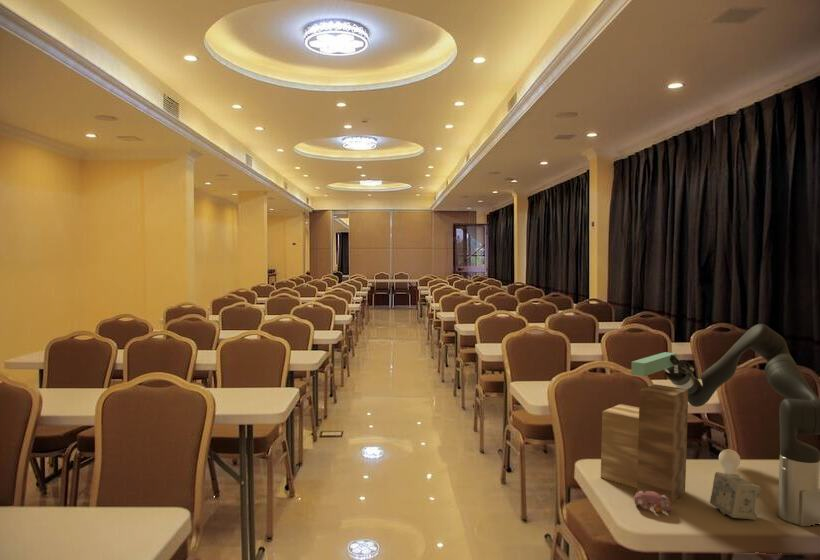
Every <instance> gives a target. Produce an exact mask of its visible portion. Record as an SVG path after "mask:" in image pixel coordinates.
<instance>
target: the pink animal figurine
mask: <svg viewBox="0 0 820 560" xmlns="http://www.w3.org/2000/svg"><path fill="white" fill-rule="evenodd" d="M633 498H634V499H633V500H634V504H635V506H637V507H638V506H640V507H641V508H642V510H644V511H650V510H651V506H652V505H651V504H654V505H653V511H654V512H656V513H662V512H663V511H666V512H670V511H672V504H671V502H670V500H669V498H668V497H666V495H660V494H658V493H656V492H653V491H646V492H643V491H639V492H637V491H636V493H635V494H634V497H633Z"/></svg>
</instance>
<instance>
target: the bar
mask: <svg viewBox="0 0 820 560" xmlns="http://www.w3.org/2000/svg"><path fill="white" fill-rule="evenodd" d="M671 355H674V356H675V357H676V358H677V359H678V355H677V352H676V353H674V352H668V351H665V352H660V354H657V353H656V354H653V355H650V356H646V357H642V358H639V359H637V360H633V361H631V375H632V376H633V375H634V376H638V377H639V376H641V377H647V376H649V375H653V374H655V373H657V372H658V373H659V372H660V371H664V369H667V368H670V367H673V366H674V365H673V364H672V362H671V361H670V357H671Z"/></svg>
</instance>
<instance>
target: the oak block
mask: <svg viewBox="0 0 820 560" xmlns="http://www.w3.org/2000/svg"><path fill="white" fill-rule="evenodd" d="M601 413H602V415H601V417H602V418H601V444H600V445H601V446H600V447H601V450H600V451H601V453H600V456H601V457H600V479H602V478H604V479H603V480H606V479H608V480H607V481H609V480H611V481H610V482H613V481H614V483H617V482H618V484H620V483H622V485H624V484H625V485H624V486H627V485H628V487H631V488H634V489H637V470H638V434H639V406H633V405H628V404H623V403H620V404H617V405H614V406H612V407H610V408H606V409H604V410H602V411H601Z"/></svg>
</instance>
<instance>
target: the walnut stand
mask: <svg viewBox="0 0 820 560" xmlns="http://www.w3.org/2000/svg"><path fill="white" fill-rule="evenodd" d="M638 400H639V401H638V404H639V406H638V407H639V434H638V470H637V488H636V493H637V492H639V491H643V492H646V491H653V492H656V493H658V494H660V495H666V497H668V498H669V500H670V502H671V505H672V504H673V503H674V502H676V501H677V500H678V499H680V498H681V497H682V496H683V495H685V494H686V477H687V475H686V472H687V468H686V467H687V444H688V415H689V413H688V411H689V410H688V408H689V402H688V389H682V388H677V387H676V386H669V385H662V384H656V383H655V384H652V385H649V386H647V387H644V388H642V389H639V399H638ZM675 500H676V501H675Z"/></svg>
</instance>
